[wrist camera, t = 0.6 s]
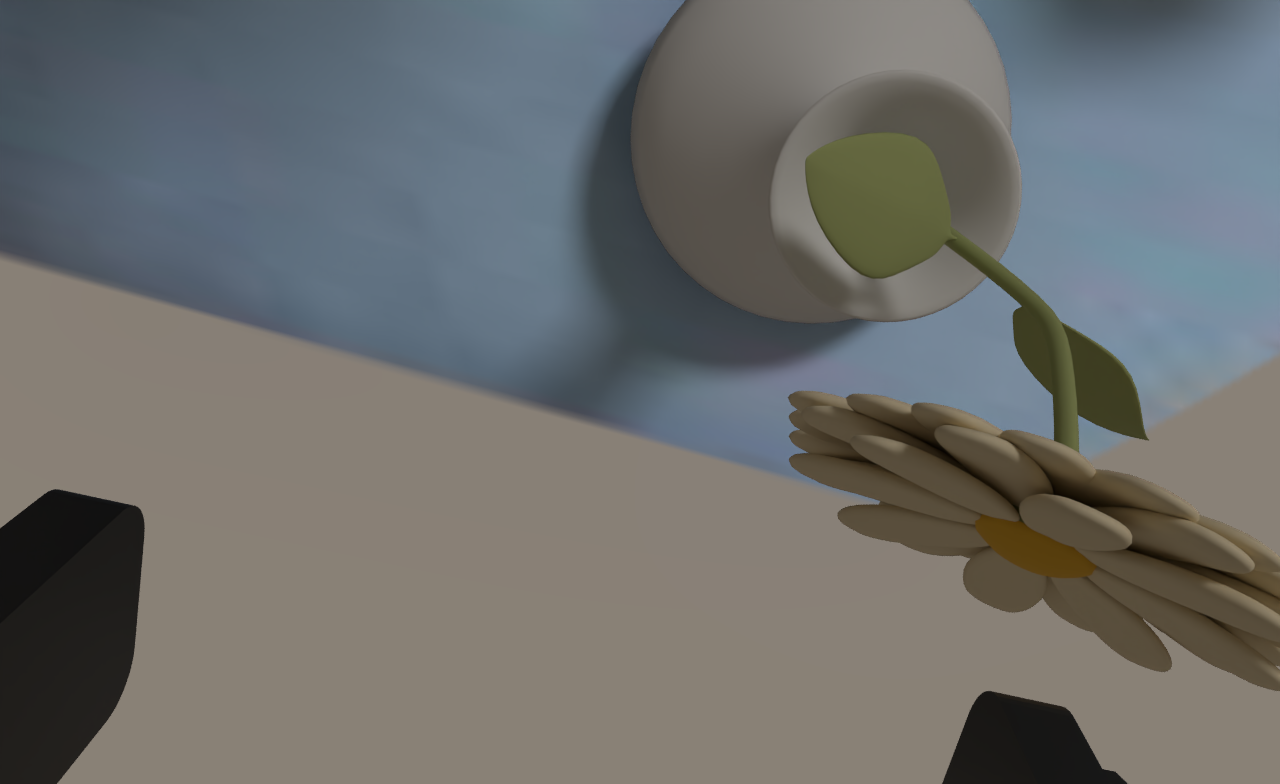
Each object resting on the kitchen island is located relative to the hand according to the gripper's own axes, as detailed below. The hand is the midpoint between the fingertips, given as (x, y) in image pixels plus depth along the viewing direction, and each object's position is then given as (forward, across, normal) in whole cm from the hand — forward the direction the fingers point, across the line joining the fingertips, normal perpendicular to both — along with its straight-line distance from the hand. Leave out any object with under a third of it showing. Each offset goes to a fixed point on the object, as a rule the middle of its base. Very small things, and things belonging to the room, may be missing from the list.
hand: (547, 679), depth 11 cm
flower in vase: (+27, -6, -3) cm, 28 cm away
